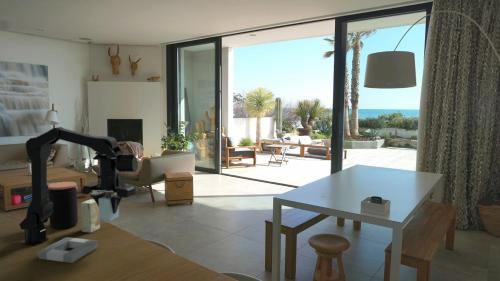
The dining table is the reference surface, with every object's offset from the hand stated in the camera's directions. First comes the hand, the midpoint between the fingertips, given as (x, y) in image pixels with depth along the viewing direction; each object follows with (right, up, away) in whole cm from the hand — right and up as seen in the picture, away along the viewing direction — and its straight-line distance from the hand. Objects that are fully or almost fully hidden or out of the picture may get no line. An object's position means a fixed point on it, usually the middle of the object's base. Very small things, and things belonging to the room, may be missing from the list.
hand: (109, 212), depth 130 cm
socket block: (-11, -13, -7) cm, 18 cm away
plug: (0, -2, 0) cm, 2 cm away
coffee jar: (-27, -10, +19) cm, 34 cm away
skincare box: (-13, -10, +15) cm, 22 cm away
